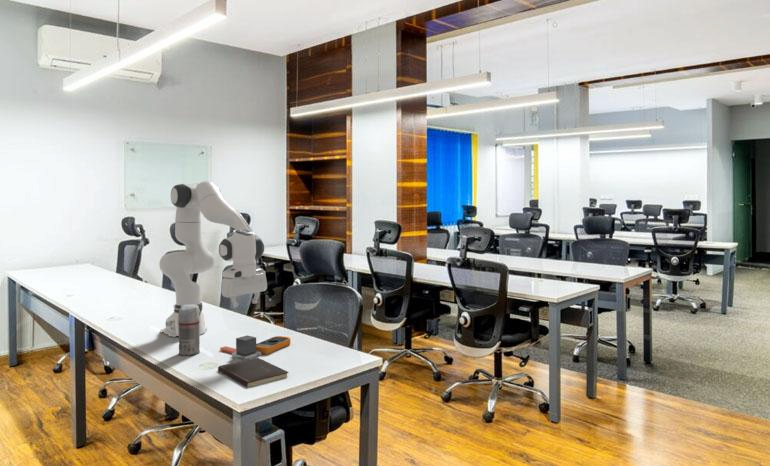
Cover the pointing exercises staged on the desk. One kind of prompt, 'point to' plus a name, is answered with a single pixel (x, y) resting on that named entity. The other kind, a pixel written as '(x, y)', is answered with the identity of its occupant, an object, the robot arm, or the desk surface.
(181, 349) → the spray can
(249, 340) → the brushed metal cube
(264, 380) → the hardcover book
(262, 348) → the multimeter
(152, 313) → the desk surface
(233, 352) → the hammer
